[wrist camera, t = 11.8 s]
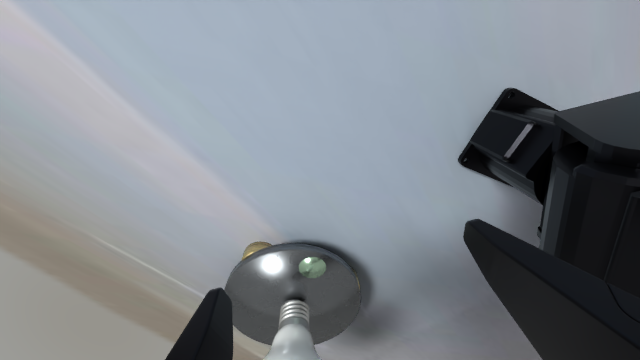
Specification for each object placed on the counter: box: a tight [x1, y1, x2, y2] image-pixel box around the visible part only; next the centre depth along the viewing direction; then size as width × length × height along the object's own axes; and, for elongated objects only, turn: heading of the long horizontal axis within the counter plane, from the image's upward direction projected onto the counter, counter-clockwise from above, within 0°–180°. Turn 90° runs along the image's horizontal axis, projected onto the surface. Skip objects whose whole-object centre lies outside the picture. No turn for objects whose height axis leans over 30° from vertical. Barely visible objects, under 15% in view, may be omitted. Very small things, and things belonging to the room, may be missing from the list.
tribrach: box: [224, 242, 361, 345], centre depth 26 cm, size 13×13×3 cm
